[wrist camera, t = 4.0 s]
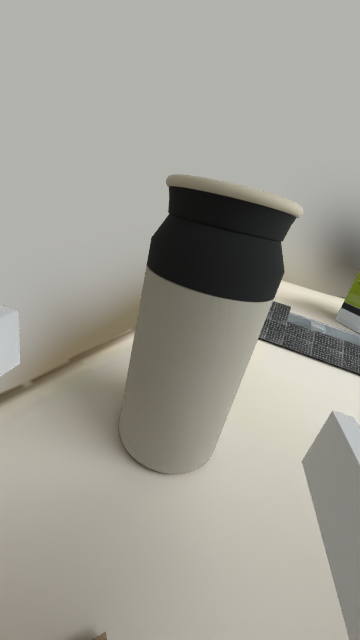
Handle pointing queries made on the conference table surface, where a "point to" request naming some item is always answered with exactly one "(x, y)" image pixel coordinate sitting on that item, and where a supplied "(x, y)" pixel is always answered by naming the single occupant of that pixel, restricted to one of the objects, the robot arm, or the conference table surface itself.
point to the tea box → (351, 307)
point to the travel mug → (200, 317)
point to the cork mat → (101, 637)
